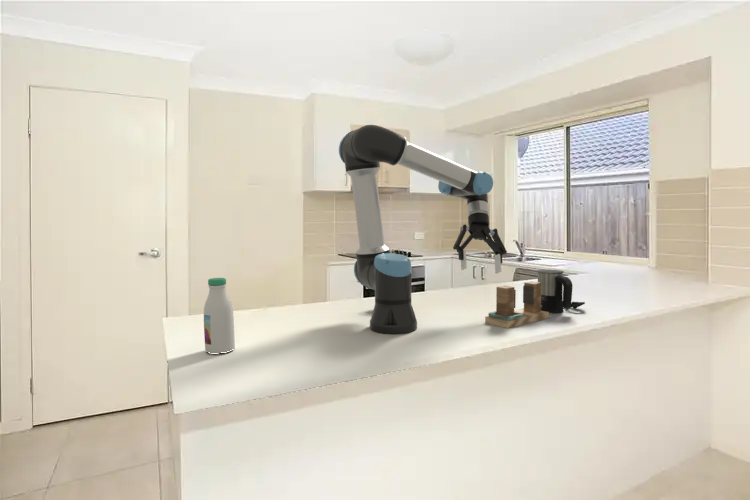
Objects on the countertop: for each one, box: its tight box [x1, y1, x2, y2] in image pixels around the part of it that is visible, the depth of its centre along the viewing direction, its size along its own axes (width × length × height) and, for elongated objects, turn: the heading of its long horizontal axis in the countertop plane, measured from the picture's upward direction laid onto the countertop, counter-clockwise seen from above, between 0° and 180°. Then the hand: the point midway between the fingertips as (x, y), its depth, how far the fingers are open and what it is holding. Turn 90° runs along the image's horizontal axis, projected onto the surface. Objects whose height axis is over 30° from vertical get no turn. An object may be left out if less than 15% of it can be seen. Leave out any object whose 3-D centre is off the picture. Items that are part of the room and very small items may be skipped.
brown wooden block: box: [495, 285, 517, 317], centre depth 150 cm, size 5×4×10 cm
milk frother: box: [536, 269, 586, 314], centre depth 167 cm, size 14×16×15 cm
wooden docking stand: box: [484, 281, 550, 329], centre depth 153 cm, size 22×9×12 cm, turn 125°
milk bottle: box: [203, 277, 236, 353], centre depth 124 cm, size 8×8×20 cm
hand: (481, 270), depth 162 cm, fingers open, 13 cm apart
